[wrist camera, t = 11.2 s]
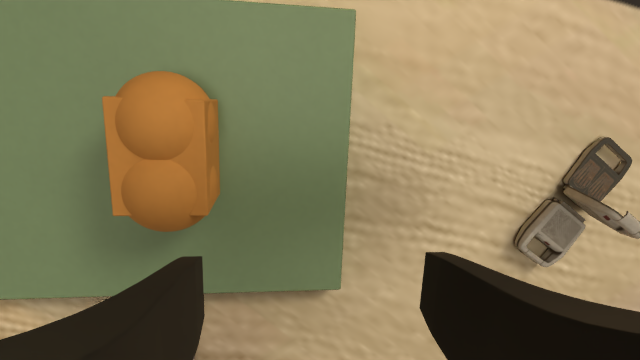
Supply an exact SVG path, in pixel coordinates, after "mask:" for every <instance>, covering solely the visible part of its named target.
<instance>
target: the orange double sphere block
mask: <svg viewBox="0 0 640 360" xmlns="http://www.w3.org/2000/svg"><path fill="white" fill-rule="evenodd" d="M102 104H103V115H104V125H105V136H106V147H107V158H108V169H109V180H110V190H111V201H112V212H113V216H129V217H130V218H131V219H132V220H134V221H135V222H136V223H138V224H140V225H141V226H143V227H146V228H148V229H151V230H155V231H160V232H173V231H179V230H183V229H186V228H188V227H190V226H192V225H194V224H196V223H197V222H199V221H200V220H201V219H202V218H204V217H205V216H207V215H208V214H209V212H210V210H211V209H212V207H213V205H214V203H215V201H216V200H217V198H218V196H219V194H220V172H219V129H218V100H217V99H210V98H209V97H208V96H207V94H206V93H205V92H204V90H203V89H202V88H201V87H200V86H198V85H197V84H196V83H195V82H193V81H192V80H190V79H188V78H186V77H185V76H182V75H180V74H177V73H173V72H167V71H152V72H147V73H143V74H140V75H138V76H136V77H134V78H132V79H131V80H129V81H128V82H127V83H125V84H124V85H123V86H122V87H121V89H120V90H119V91H118V93H117V94H116V96H103V97H102Z"/></svg>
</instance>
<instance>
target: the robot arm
mask: <svg viewBox="0 0 640 360" xmlns="http://www.w3.org/2000/svg"><path fill="white" fill-rule="evenodd" d="M420 310H421V312H422V314H423V317H424V319H425V321H426V324H427V326H428V328H429V330H430V332H431V334H432V336H433V337H434V339H435V341H436V342H437V344H438V345H439V347H440V349H441V350H442V352H443V353H444V355H445V356H446V358H447V360H640V312H637V311H632V310H626V309H621V308H616V307H612V306H607V305H603V304H598V303H594V302H589V301H585V300H581V299H577V298H574V297H570V296H567V295H563V294H560V293H556V292H553V291H549V290H546V289H543V288H540V287H537V286H534V285H531V284H528V283H526V282H523V281H520V280H517V279H515V278H512V277H509V276H507V275H504V274H502V273H499V272H497V271H494V270H492V269H489V268H487V267H484V266H482V265H479V264H477V263H474V262H472V261H469V260H467V259H464V258H461V257H459V256H456V255H453V254H449V253H445V252H426V256H425V265H424V274H423V283H422V292H421V301H420ZM203 320H204V290H203V262H202V256H185V257H180V258H177V259H176V260H174V261H172V262H170V263H169V264H167V265H166V266H164V267H162V268H161V269H159V270H157V271H156V272H154V273H153V274H151V275H149V276H148V277H146V278H145V279H143V280H141V281H140V282H138V283H136V284H134V285H132V286H131V287H129V288H127V289H125V290H123V291H122V292H120V293H118V294H116V295H114V296H113V297H111V298H109V299H107V300H105V301H103V302H101V303H98V304H96V305H94V306H92V307H90V308H87V309H85V310H83V311H81V312H78V313H76V314H74V315H71V316H69V317H66V318H63V319H61V320H58V321H55V322H52V323H50V324H47V325H44V326H41V327H39V328H36V329H33V330H30V331H27V332H24V333H21V334H18V335H15V336H11V337H8V338H5V339H2V340H0V360H195V358H194V356H195V353H196V350H197V347H198V344H199V339H200V335H201V330H202V325H203Z"/></svg>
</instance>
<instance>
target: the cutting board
mask: <svg viewBox="0 0 640 360" xmlns="http://www.w3.org/2000/svg"><path fill="white" fill-rule="evenodd" d="M355 21H356V10H354V9H340V8H327V7H313V6H299V5H285V4H271V3H258V2H244V1H230V0H0V300H1V299H35V298H69V297H103V296H114V295H116V294H118V293H120V292H122V291H123V290H125V289H127V288H129V287H131V286H132V285H134V284H136V283H138V282H140V281H141V280H143V279H145V278H146V277H148V276H149V275H151V274H153V273H154V272H156V271H157V270H159V269H161V268H162V267H164V266H166V265H167V264H169V263H170V262H172V261H174V260H176V259H177V258H180V257H185V256H202V262H203V290H204V294H205V293H238V292H272V291H306V290H339V289H340V288H341V270H342V252H343V234H344V217H345V199H346V181H347V163H348V146H349V128H350V110H351V92H352V75H353V57H354V39H355ZM152 71H167V72H173V73H177V74H180V75H182V76H185V77H186V78H188V79H190V80H192V81H193V82H195V83H196V84H197V85H198V86H200V87H201V88H202V89H203V90H204V92H205V93H206V94H207V96H208V97H209V98H210V99H217V100H218V129H219V172H220V194H219V196H218V198H217V200H216V201H215V203H214V205H213V207H212V209H211V210H210V212H209V214H208V215H207V216H205V217H204V218H202V219H201V220H200V221H199V222H197V223H196V224H194V225H192V226H190V227H188V228H186V229H183V230H179V231H173V232H160V231H155V230H151V229H148V228H146V227H143V226H141V225H140V224H138V223H136V222H135V221H134V220H132V219H131V218H130V217H129V216H113V212H112V201H111V190H110V180H109V169H108V158H107V147H106V136H105V125H104V115H103V104H102V97H103V96H116V94H117V93H118V91H119V90H120V89H121V87H122V86H123V85H124V84H125V83H127V82H128V81H129V80H131V79H132V78H134V77H136V76H138V75H140V74H143V73H147V72H152Z"/></svg>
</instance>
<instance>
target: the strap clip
mask: <svg viewBox="0 0 640 360" xmlns="http://www.w3.org/2000/svg"><path fill="white" fill-rule="evenodd" d="M604 144H605V145H606V146H607V147H608V148H609V149H610V150H611V151H612V152H613V153H614V154H616V155H617V156H618V157H619V158H620V159H621V163H620V165H619V166H618V167H617V168H616V169H615V170H613V169H612V168H610V167H609V166H608V165H607V164H606V163H605V162H604V161H603V160H602V159H601V158H600V157H598V156H597V155H596V154H595V153H596V152H597V151H598V150H599V149H600V148H601V147H602V146H603V145H604ZM631 163H632V159H631V157H630V156H629V155H628V154H627V153H626V152H625V151H623V150H622V149H621V148H620V147H619V146H618V145H617V144H616V143H615V142H614V141H613V140H612V139H611V138H609V137H604V138H601V139H599V140H597V141H596V142H595V143H593V144H592V145H591V146H590V147H588V148H587V149H586V150H585V151H584V153H583V154H582V155H581V157H580V158H579V159H578V161H577V162H576V163H575V165H574V166H573V167H572V169H571V170H570V171H569V173H568V174H567V175H566V177H565V178H564V180H563V182H564V183H565V184H566V185H565V186H564V187H563V188H564V189H565V190H564V191H563V192H564V194H565V195H566V196H568V197H569V198H570V199H571V200H572V201H573V202H575V203H576V204H577V205H578V206H579V207H581V208H582V209H583V210H584V211H585V212H586V213H588V214H589V215H590V216H592V217H594V218H595V219H597V220H599V221H600V222H602V223H604V224H605V225H607V226H609V227H610V228H612V229H614V230H615V231H617V232H619V233H621V234H624V235H627V236H629V237H632V238H636V239H639V238H640V222H639V221H638V220H637V219H636V218H635V217H634V216H632V215H631V214H630V213H629V212H628V211H626V212H627V213H626V215H625V216H624V217H623V216H622V215H621V214H619V213H618V212H617V211H615V210H614V209H612V208H611V207H609V206H607V205H605V204H603V203H602V202H601V200H602V199H603V198H604V197H605V196H606V195H607V194H608V193H609V192H610V191H611V190H612V189H613V188H614V187H615V186H616V184H617V183H618V182H619V181H620V180H621V179H622V178H623V176H624V175H625V173H626V172H627V170H628V169H629V167H630V166H631ZM584 221H585V219H584V218H583V217H582V216H580V215H579V214H578V213H577V212H576V211H574V210H573V209H572V208H571V207H570V206H569V205H567V204H566V203H565V202H564V201H561V200H560V201H559V200H557V199H556V198H554V199H553V201H551V200H546V201H545V202H544V203H543V204H542V205H541V206H540V207H539V208H538V209H537V211H536V212H535V213H534V214H533V215H532V216H531V217H530V218H529V219H528V220H527V222H526V223H525V224H524V225H523V226H522V227H521V229H520V231H519V233H518V235H517V237H516V240H515V246H516V247H517V248H518V249H519V250H520V251H521V252H522V253H523V254H525V255H526V256H527V257H529V258H530V259H531V260H533V261H534V262H536V263H538V264H539V265H541V266H543V267H549V266H551V265H553V264H554V263H555V262H557V261H558V260H559V259H561V258H562V257H563V256H564V255H565V254H566V252H567V251H568V250H569V249H570V247H571V246H572V245H573V243H574V242H575V241H576V239H577V238H578V237H579V236H580V234H581V233H582V232H583V230H584V229H585V225H584V224H583V222H584ZM534 236H535V237H536V238H538V239H539V240H540V241H541V242H543V243H544V244H545V245H546V246H548V247H549V248H548V249H547V251H546V252H545V253H544V254H543V256H542V257H541V258H539V257H538V256H537V255H535V254H534V253H533V252H531V251H530V250H529V249H528V248H527V244H528V243H529V242H530V241H531V240H532V238H533V237H534Z"/></svg>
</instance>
